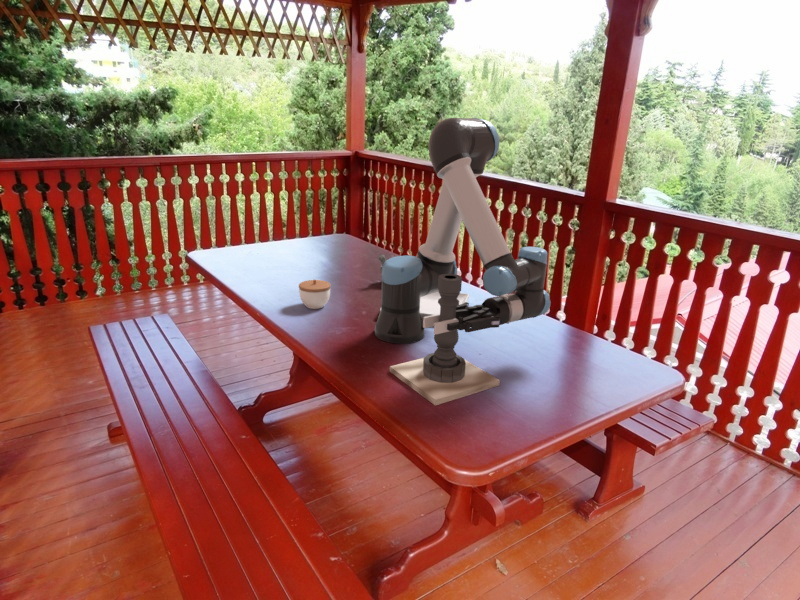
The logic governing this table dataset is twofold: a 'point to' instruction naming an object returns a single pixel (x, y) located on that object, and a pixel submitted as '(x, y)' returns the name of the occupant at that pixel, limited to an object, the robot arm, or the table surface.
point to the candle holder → (446, 341)
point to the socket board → (443, 388)
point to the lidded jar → (314, 293)
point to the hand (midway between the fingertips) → (429, 325)
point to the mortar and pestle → (382, 261)
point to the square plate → (435, 303)
